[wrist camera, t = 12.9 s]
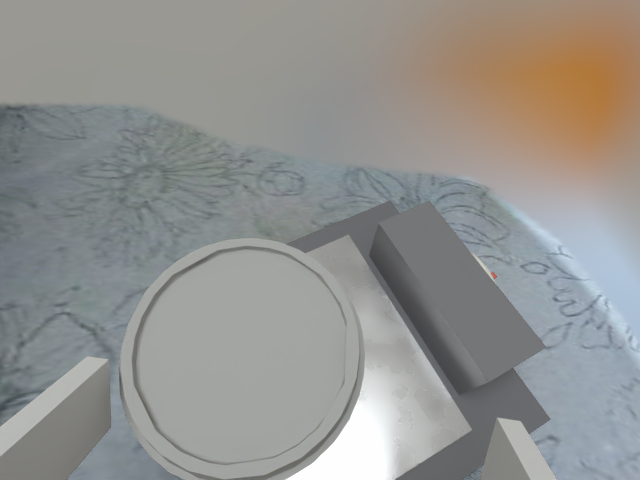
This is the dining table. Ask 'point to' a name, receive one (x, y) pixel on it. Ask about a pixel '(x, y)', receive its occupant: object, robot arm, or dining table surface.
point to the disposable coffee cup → (241, 362)
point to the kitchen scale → (448, 323)
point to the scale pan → (384, 387)
